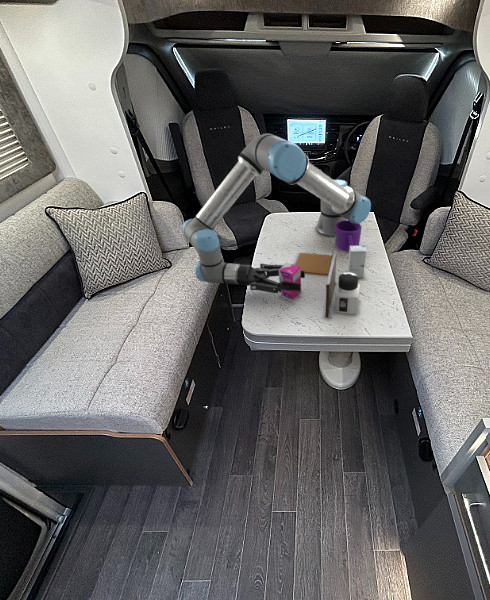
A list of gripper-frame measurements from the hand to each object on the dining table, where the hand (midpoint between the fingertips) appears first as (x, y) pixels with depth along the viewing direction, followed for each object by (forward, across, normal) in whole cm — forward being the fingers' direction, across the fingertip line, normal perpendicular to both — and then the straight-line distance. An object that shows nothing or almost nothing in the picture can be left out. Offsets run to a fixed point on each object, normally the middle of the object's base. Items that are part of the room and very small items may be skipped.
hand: (302, 280), depth 120 cm
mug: (+13, -36, -7) cm, 39 cm away
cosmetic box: (+18, -17, -7) cm, 26 cm away
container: (+16, +3, -7) cm, 18 cm away
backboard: (+10, 0, -7) cm, 12 cm away
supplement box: (-4, 0, -7) cm, 8 cm away
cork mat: (0, -22, -7) cm, 23 cm away
